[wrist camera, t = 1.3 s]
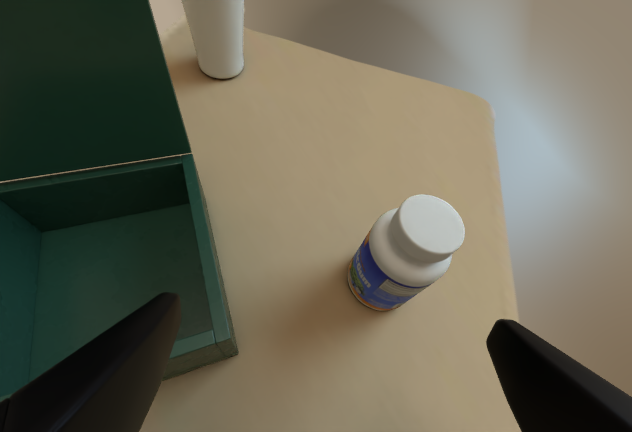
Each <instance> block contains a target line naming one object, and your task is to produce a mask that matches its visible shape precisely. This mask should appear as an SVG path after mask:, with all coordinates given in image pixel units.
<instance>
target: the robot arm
mask: <svg viewBox="0 0 632 432" xmlns="http://www.w3.org/2000/svg"><path fill="white" fill-rule="evenodd" d="M180 323H181V304H180V296H179V294H177V293H169V292H163V293H160V294H159V295H157V296H156V297H154V298H153V299H151V300H150V301H149V302H147V303H146V304H144V305H143V306H141V307H140V308H138V309H137V310H135V311H134V312H132V313H131V314H129V315H128V316H126V317H125V318H124V319H122V320H121V321H119V322H118V323H116V324H115V325H113V326H112V327H110V328H109V329H107V330H106V331H104V332H103V333H101V334H100V335H98V336H97V337H96V338H94V339H93V340H91V341H90V342H88V343H87V344H85V345H84V346H82V347H81V348H79V349H78V350H76V351H75V352H73V353H72V354H70V355H69V356H68V357H66V358H65V359H63V360H62V361H60V362H59V363H57V364H56V365H54V366H53V367H51V368H50V369H48V370H47V371H45V372H44V373H42V374H41V375H40V376H38V377H37V378H35V379H34V380H32V381H31V382H29V383H28V384H26V385H25V386H23V387H22V388H20V389H19V390H17V391H16V392H15V393H13V394H12V395H11V396H10V398H6V399H4V400H2V401H1V402H0V432H139V430H140V428H141V426H142V424H143V422H144V419H145V417H146V415H147V413H148V411H149V408H150V406H151V404H152V402H153V400H154V397H155V395H156V393H157V391H158V388H159V386H160V384H161V381H162V378H163V375H164V372H165V369H166V366H167V363H168V360H169V357H170V354H171V351H172V348H173V345H174V342H175V339H176V336H177V333H178V330H179V327H180ZM486 344H487V349H488V351H489V354H490V357H491V359H492V362H493V365H494V367H495V370H496V373H497V375H498V378H499V381H500V383H501V386H502V389H503V391H504V394H505V396H506V399H507V401H508V404H509V406H510V408H511V410H512V412H513V414H514V417H515V419H516V421H517V423H518V425H519V427H520V429H521V431H522V432H632V397H631V396H629V395H628V394H626V393H625V392H623V391H621V390H620V389H618V388H617V387H615V386H614V385H612V384H611V383H609V382H608V381H606V380H605V379H603V378H602V377H600V376H599V375H597V374H595V373H594V372H592V371H591V370H589V369H588V368H586V367H584V366H583V365H581V364H580V363H579V362H577V361H576V360H574V359H572V358H571V357H569V356H568V355H566V354H565V353H563V352H562V351H560V350H559V349H557V348H556V347H554V346H552V345H551V344H549V343H548V342H546V341H545V340H543V339H542V338H540V337H539V336H537V335H536V334H534V333H532V332H531V331H529V330H528V329H526V328H525V327H523V326H522V325H520V324H519V323H517V322H516V321H513V320H506V319H499V320H497V321H496V323H495V324H494V326H493V328H492V330H491V332H490V334H489V336H488V337H487V341H486Z"/></svg>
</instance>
